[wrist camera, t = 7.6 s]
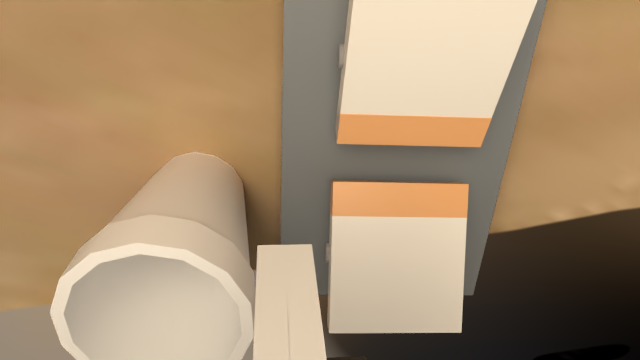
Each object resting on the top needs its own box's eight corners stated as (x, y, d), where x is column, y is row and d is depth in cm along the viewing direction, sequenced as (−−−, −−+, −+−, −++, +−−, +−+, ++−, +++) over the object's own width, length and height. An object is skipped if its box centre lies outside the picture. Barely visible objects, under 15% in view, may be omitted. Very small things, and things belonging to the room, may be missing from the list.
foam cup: (277, 145, 33) (270, 261, 22) (255, 253, 37) (240, 399, 26) (134, 120, 32) (46, 229, 20) (128, 235, 36) (52, 381, 24)
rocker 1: (331, 120, 28) (333, 143, 26) (347, -42, 21) (351, -24, 20) (474, 124, 28) (484, 147, 27) (531, -33, 22) (547, -14, 20)
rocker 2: (323, 320, 31) (325, 333, 28) (326, 178, 30) (329, 181, 28) (453, 320, 31) (464, 332, 29) (459, 181, 30) (472, 184, 28)
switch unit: (280, 260, 38) (279, 310, 33) (285, -72, 27) (284, -72, 22) (459, 261, 39) (484, 310, 34) (531, -59, 28) (582, -55, 23)
